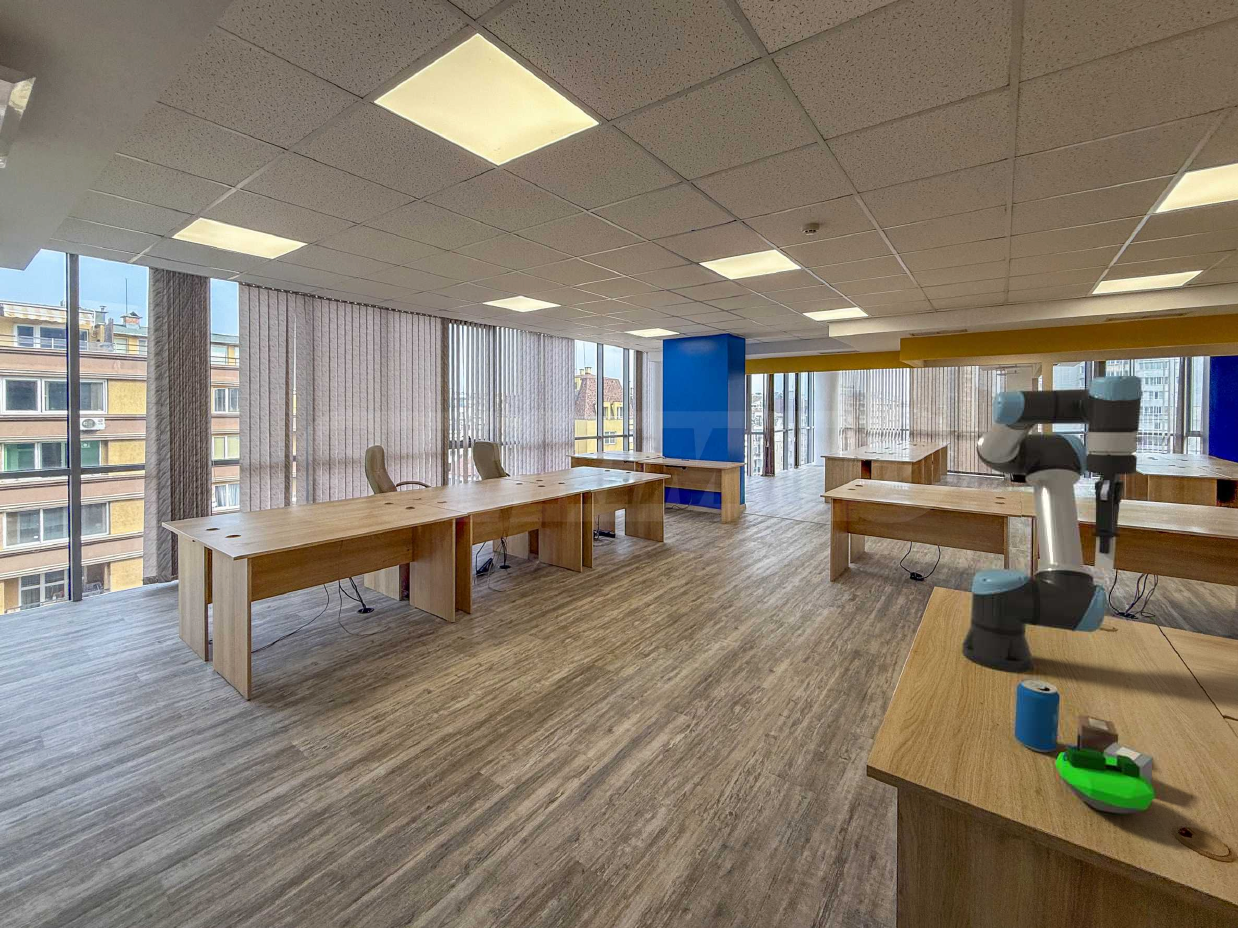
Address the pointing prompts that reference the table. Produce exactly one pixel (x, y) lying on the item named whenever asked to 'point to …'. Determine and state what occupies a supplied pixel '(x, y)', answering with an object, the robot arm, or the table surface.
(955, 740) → the table surface
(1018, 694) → the beverage can
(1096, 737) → the walnut block
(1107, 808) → the green toy boat
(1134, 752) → the slate block
